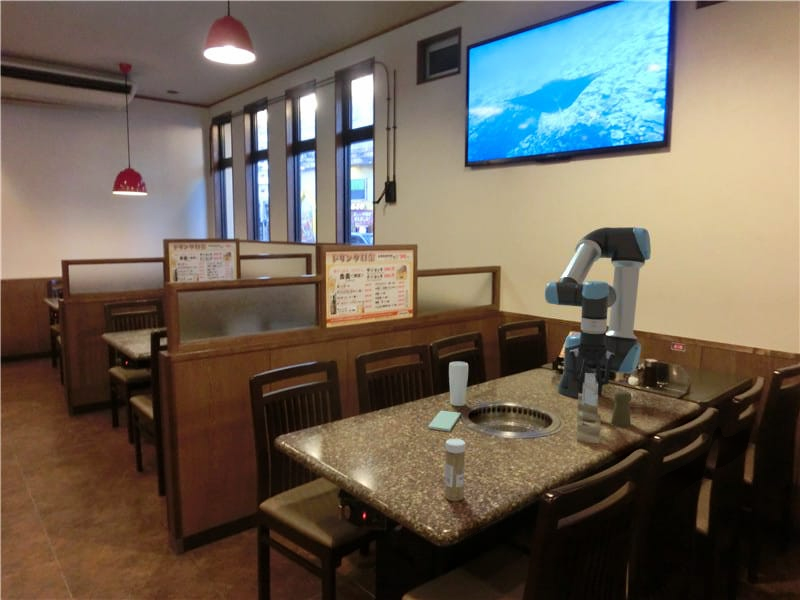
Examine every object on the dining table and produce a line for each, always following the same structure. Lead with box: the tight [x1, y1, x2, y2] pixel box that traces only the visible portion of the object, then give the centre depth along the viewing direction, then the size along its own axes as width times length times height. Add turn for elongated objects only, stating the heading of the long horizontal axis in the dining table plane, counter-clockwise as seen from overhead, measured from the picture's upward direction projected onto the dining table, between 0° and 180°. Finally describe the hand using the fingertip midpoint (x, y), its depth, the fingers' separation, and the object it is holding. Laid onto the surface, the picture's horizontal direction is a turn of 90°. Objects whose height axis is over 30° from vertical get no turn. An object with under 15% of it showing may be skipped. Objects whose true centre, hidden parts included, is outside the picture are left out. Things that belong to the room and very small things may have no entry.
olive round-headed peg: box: [610, 390, 632, 428], centre depth 173 cm, size 6×6×11 cm
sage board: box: [427, 410, 462, 433], centre depth 173 cm, size 16×7×1 cm, turn 161°
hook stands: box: [576, 394, 602, 445], centre depth 168 cm, size 24×6×8 cm, turn 161°
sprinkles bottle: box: [444, 438, 466, 502], centre depth 123 cm, size 5×5×13 cm
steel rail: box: [585, 373, 597, 405], centre depth 167 cm, size 24×3×3 cm, turn 161°
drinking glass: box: [448, 361, 469, 407], centre depth 190 cm, size 7×7×15 cm
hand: (589, 404), depth 168 cm, fingers closed on steel rail, 3 cm apart
